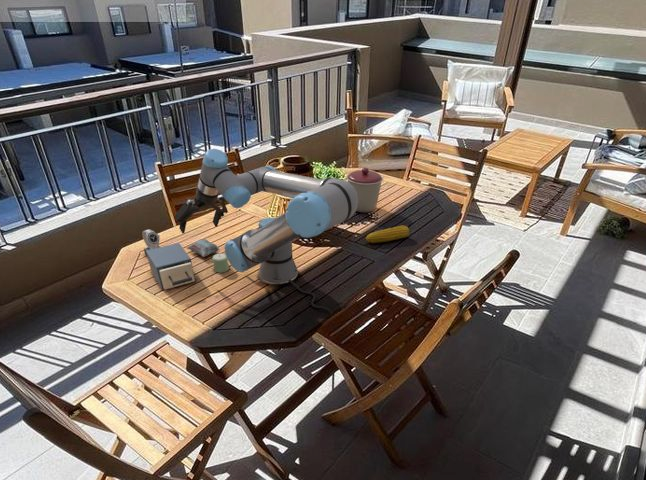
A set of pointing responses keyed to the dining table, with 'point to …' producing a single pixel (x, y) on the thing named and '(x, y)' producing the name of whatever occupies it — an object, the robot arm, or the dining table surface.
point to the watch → (150, 240)
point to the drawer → (176, 275)
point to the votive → (220, 263)
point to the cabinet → (166, 259)
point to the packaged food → (203, 247)
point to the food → (388, 234)
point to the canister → (366, 188)
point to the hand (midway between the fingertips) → (198, 227)
